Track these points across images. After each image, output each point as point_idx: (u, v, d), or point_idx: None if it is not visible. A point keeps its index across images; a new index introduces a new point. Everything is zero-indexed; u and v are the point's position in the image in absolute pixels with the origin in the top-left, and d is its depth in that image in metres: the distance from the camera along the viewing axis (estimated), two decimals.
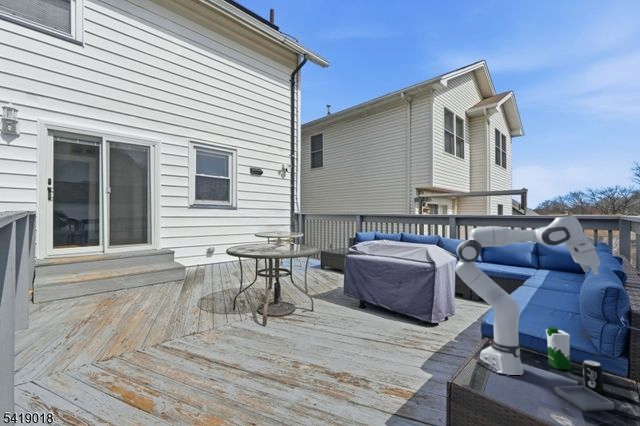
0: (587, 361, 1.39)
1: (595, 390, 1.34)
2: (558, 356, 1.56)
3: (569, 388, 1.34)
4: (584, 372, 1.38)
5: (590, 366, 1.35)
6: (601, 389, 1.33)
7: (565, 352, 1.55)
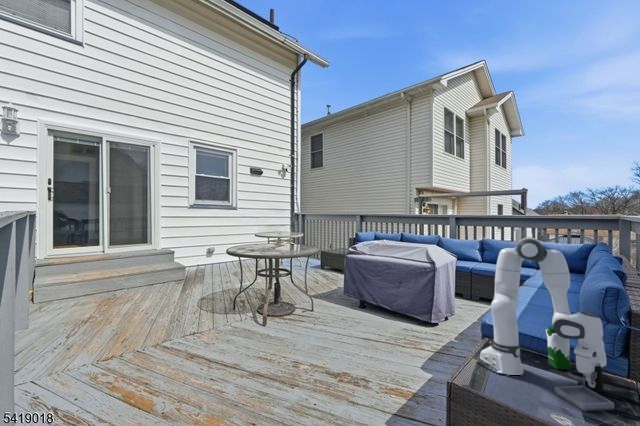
0: None
1: (595, 390, 1.34)
2: (558, 356, 1.56)
3: (569, 388, 1.34)
4: None
5: None
6: (601, 389, 1.33)
7: (565, 352, 1.55)
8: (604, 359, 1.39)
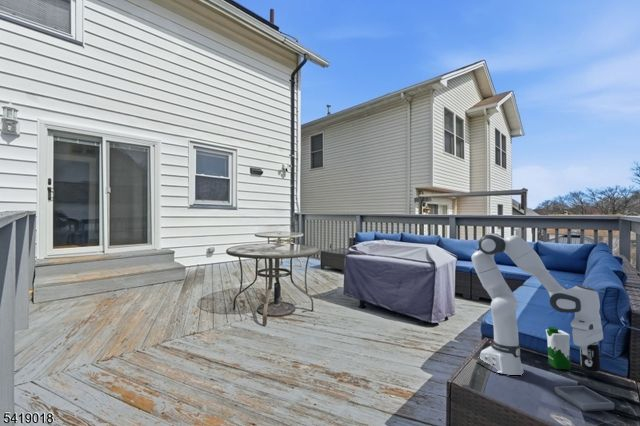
0: None
1: (592, 368, 1.33)
2: (558, 356, 1.56)
3: (569, 388, 1.34)
4: (581, 351, 1.37)
5: None
6: (598, 368, 1.33)
7: (565, 352, 1.55)
8: (601, 333, 1.39)
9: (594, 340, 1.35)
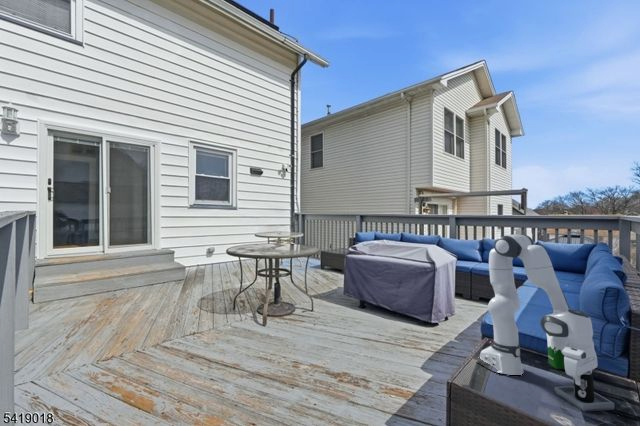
0: None
1: (585, 400, 1.25)
2: (558, 356, 1.56)
3: (569, 388, 1.34)
4: (574, 381, 1.29)
5: None
6: (592, 399, 1.25)
7: None
8: (595, 361, 1.30)
9: (588, 369, 1.27)
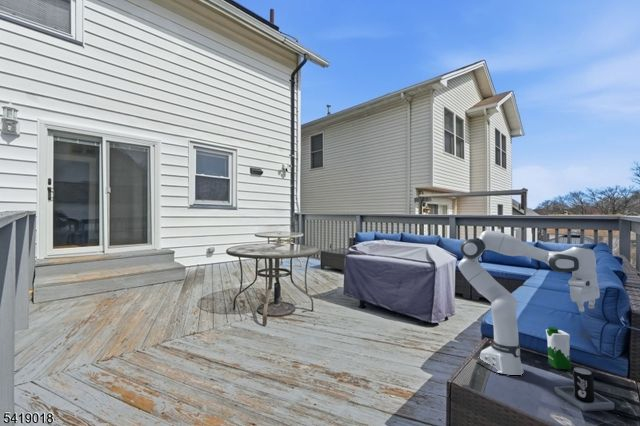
0: (577, 369, 1.30)
1: (585, 400, 1.25)
2: (558, 356, 1.56)
3: (569, 388, 1.34)
4: (574, 381, 1.29)
5: (580, 374, 1.26)
6: (592, 399, 1.25)
7: (565, 352, 1.55)
8: (597, 291, 1.44)
9: (591, 297, 1.40)
